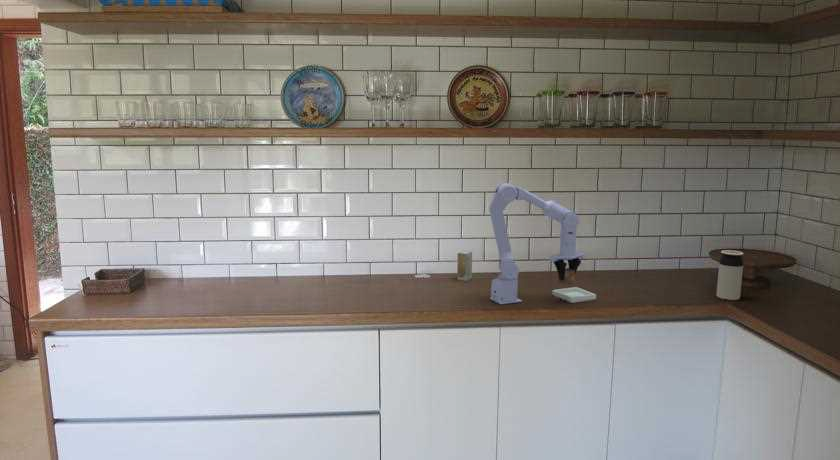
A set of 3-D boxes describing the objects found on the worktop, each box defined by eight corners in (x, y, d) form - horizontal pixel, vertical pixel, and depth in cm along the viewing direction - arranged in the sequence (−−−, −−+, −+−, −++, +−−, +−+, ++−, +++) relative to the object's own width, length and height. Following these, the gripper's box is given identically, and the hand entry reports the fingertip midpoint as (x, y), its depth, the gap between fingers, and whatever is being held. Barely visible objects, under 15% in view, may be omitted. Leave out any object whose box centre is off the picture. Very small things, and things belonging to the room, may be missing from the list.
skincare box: (463, 277, 244) (463, 249, 242) (472, 278, 242) (472, 251, 240) (456, 280, 239) (457, 252, 237) (465, 281, 236) (466, 253, 234)
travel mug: (739, 301, 208) (744, 254, 205) (715, 298, 212) (719, 252, 209) (740, 296, 215) (744, 251, 212) (716, 293, 219) (721, 249, 216)
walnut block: (565, 284, 205) (565, 271, 204) (558, 281, 208) (559, 269, 207) (574, 283, 206) (574, 270, 205) (567, 280, 210) (568, 268, 209)
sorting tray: (571, 303, 205) (571, 297, 205) (552, 295, 216) (552, 290, 216) (596, 299, 210) (596, 294, 210) (576, 292, 220) (576, 287, 220)
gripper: (558, 246, 198) (556, 283, 201) (590, 243, 204) (589, 279, 206) (546, 243, 205) (545, 278, 207) (578, 240, 210) (577, 275, 213)
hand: (566, 278), depth 207 cm, fingers closed on walnut block, 4 cm apart
